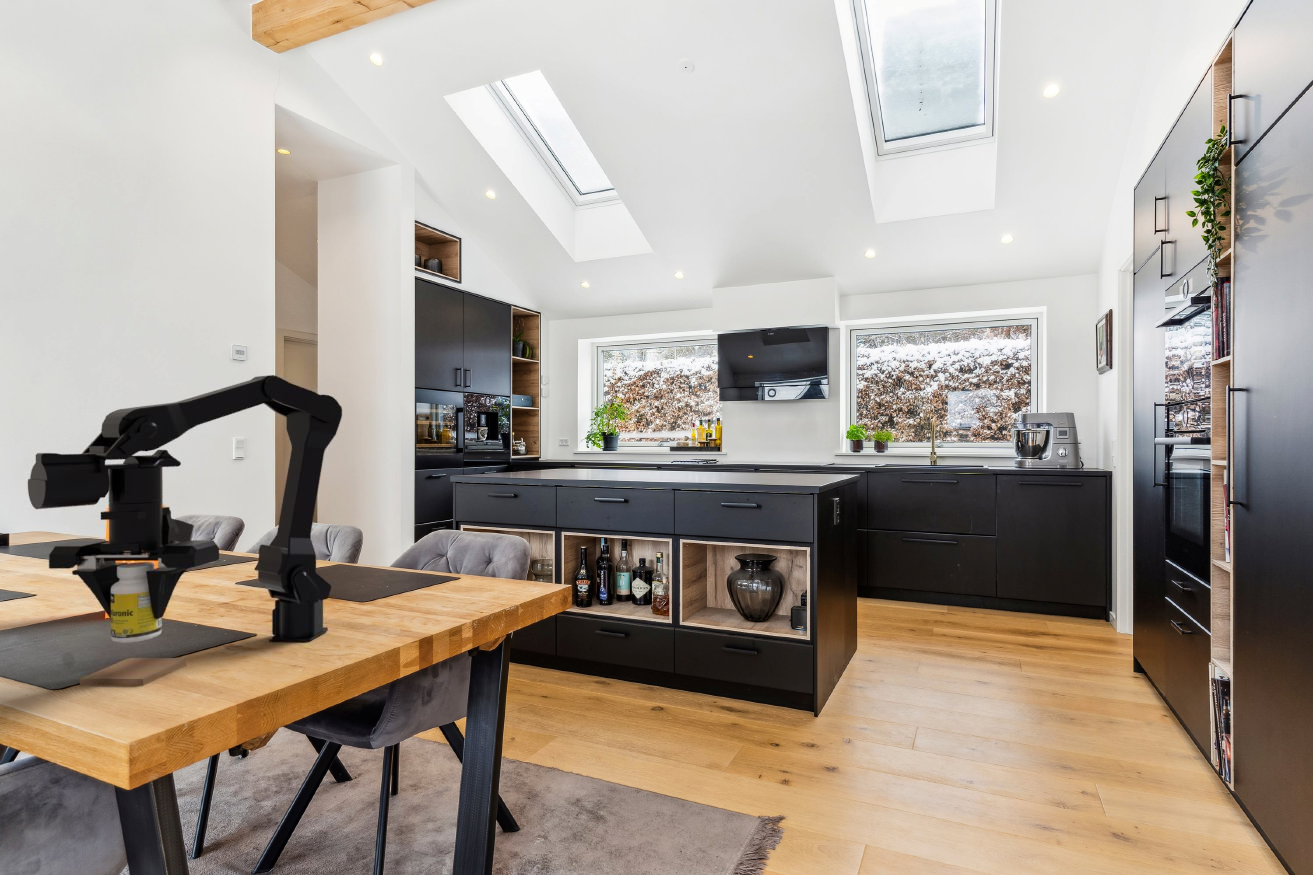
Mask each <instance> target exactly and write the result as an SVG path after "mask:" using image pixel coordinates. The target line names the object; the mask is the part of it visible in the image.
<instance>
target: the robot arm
mask: <svg viewBox="0 0 1313 875" xmlns="http://www.w3.org/2000/svg"><path fill="white" fill-rule="evenodd" d="M263 404H264V405H265V406H266V407H268V408H269V409H270V410H271V411H273V412H275V414H278V415H280V416H282V417H285V418H286V424H285V425H286V432H287V436H288V438H289V441H290V445H291V450H290V457H289V462H288V467H287V468H288V469H287V475H286V480H285V486H284V491H283V492H284V493H283V498H282V502H281V503H282V504H281V508H280V509H281V510H280V515H279V519H278V527H277V532H276V535H275V536H274V538H273V539H272V541H271V542H270V544H269V545H267V544H260V545H259V548H258V560H257V564H256V566H255V567H254V571H256V572H257V578H258V582H259V583H260V584H261V585H262V586H263V587H264V588H265V589H267V592H268V594H269V596H270V598H271V599H276V600H275V601H274V608H273V609H272V611H271V612H272V613H271V627H272V628H271V630H272V631H271V634H272V635H273V636H271V637H270V638H268V640H269V641H268V642H270V643H273V642H274V643H275V642H277V643H281V642H283V643H284V642H285V643H286V642H287V643H288V642H290V643H291V642H293V643H294V642H296V643H297V642H299V643H300V642H301V643H302V642H303V643H304V642H307V643H308V642H312V641H313V640H315V639H316V638H318V637H319V636H321V635H323V634H325V633H326V632H328V630H329V628H328V627H327V626H326V627H325V626H324V601H325V600H327V599H329V597H330V592H331V590H332V585H331V584H330V583H329V582H328V581H327V580H325V579H324V578H323V577H322V576H320V575H319V574H318V573H317V554H316V551H315V547H314V545H313V540H312V536H311V535H312V530H313V524H314V517H315V510H316V504H317V499H318V498H317V497H318V494H319V493H318V492H319V487H320V482H321V481H320V480H321V477H322V476H321V474H322V469H323V462H324V457H325V452H326V449H327V448H328V446H329V445H330V444H331V442H332V441H333V440H334V438H335V437H336V435H337V432H338V430H339V427H340V424H341V421H342V417H343V408H342V407H343V406H342V405H340V403H339V402H338V400H337V399H335V397H334V396H331V395H328V394H319V393H317V392H315V391H313V390H310V389H308V388H305V387H302V386H299V385H296V384H294V383H291V382H290V381H287V380H285V379H284V378H282V377H280V376H278V375H274V374H273V375H272V374H270V375H259V376H257V375H256V376H254V377H253V378H251V379H250V380H245V381H242V382H240V383H236V384H233V385H228V386H226V387H223V388H220V389H216V390H213V391H209V392H205V393H203V394H199V395H196V396H193V397H189V398H185V399H182V400H178V401H175V402H168V403H160V404H151V405H150V404H149V405H142V406H134V407H133V406H132V407H127V408H120V409H115V410H113V411H111V412H109V413H108V414H107V415H105V418H104V420H103V421H102V423H101V429H100V430H101V431H100V433H99V434H98V435H97V436H96V437H95V438H94V439H93V440H92V441H91V442H90V443H89V445H88V446H87V447H86V448H85V449H84V450H83V451H82V453H63V454H62V453H57V452H55V453H54V452H53V453H52V452H37V453H36V454H35V463H34V465H33V466H32V468H31V472H30V476H29V477H30V478H28V479H27V494H28V498H29V502H30V503H31V505H32V507H33V508H34V509H35V510H43V509H44V510H45V509H46V510H47V509H57V508H70V507H71V508H72V507H84V506H85V507H86V506H94V505H97V504H98V503H99V501H100V499H103V498H106V496H107V494H108V508H109V511H107V510H104V511H101V512H100V520H101V521H106V520H109V541H106V540H81V541H75V542H71V543H64V544H60V545H59V544H58V545H55V546H54V547H53V549H52V550H51V552H50V553H49V554H48V569H53V570H55V569H62V570H63V569H73V568H74V567H75V566H76V569H74V570H72V571H71V574H72V575H73V576H78V577H79V578H80V579H81V581H82V582H83V583H84V584H85V585H86V586H87V588H88V589H89V590H90V591H91V592H92V594H93V595H94V596H95V598H96V599H97V601H98V603H99V604H100V606H101V607H102V608H103V610H104V612H106V613H107V615H108V616H109V618H110V620H111V587H112V586H113V585H114V584H115V583H117V582H119V580H120V578H118V577H117V576H118V575H117V567H118V566H119V565H123V564H127V563H128V562H116V561H158V568H155V569H152V570H148V571H146V575H147V581H148V588H149V595H150V601H151V608H152V612H153V615H154V618H155V619H159V618H162V619H163V617H164V615H165V610H166V611H167V607H168V605H169V602H170V601H171V599H172V598H171V597H172V595H173V593H174V591H175V589H176V586H177V584H178V582H179V580H180V579H181V577H182V576H183V575H184V574H185V572H186V571H187V570H189V569H192V568H196V567H200V566H203V565H206V564H209V563H212V562H215V561H220V548H219V545H218V544H217V543H216V542H215V540H213V539H212V540H210V539H209V540H207V539H206V540H205V539H204V540H199V539H198V540H196V539H195V540H192V534H193V532H194V527H195V526H194V524H192V523H189V522H187V521H186V522H185V521H184V520H180V519H174V518H172V511H171V509H170V506H165V507H163V505H164V504H163V500H164V499H163V497H164V496H163V493H164V492H163V489H164V486H163V484H164V483H163V468H170V467H171V468H173V467H180V466H181V465H182V462H181V461H180V460H178V459H177V458H176V457H174V456H172V455H171V454H170V452H169V451H168V450H167V449H159V448H161V447H163V446H165V445H167V444H168V443H170V442H173V441H174V440H177V439H178V438H179V437H182V436H183V435H184V434H186V433H187V432H188V431H190V430H192V429H193V428H195V427H197V426H199V425H203V424H205V423H208V422H211V421H215V420H218V419H221V418H223V417H226V416H227V417H228V416H229V415H233V414H235V413H239V412H243V411H245V410H248V409H251V408H254V407H257V406H260V405H263ZM155 450H156V451H155ZM151 451H155V452H154V453H152V455H151V454H149V455H147V454H146V455H135V454H137V453H139V452H151ZM109 460H110V461H115V460H116V461H117V460H118V461H119V460H124V461H123V463H112V464H111V463H109V464H108V463H107V464H106V461H109Z"/></svg>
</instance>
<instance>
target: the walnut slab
mask: <svg viewBox="0 0 1313 875" xmlns="http://www.w3.org/2000/svg"><path fill="white" fill-rule="evenodd" d="M187 661H188V660H187V658H186V657H127V658H126V659H124V660H121V661H118V662H116V663H115V664H111V665H110V666H107V667H104V668H102V669H100V670H98V671H95V672H93V673H91V674H88V675H86V676H83V677H81V678H79V686H130V687H131V686H134V687H137V686H138V687H139V686H141V687H143V686H145V685H148V684H149V683H153V682H154V681H156V680H159V679H160V678H162V677H165V676H167V675H170V674H172V673H174V672H176V671H179V670H181V669H182V668H185V667H186V666H187V664H188V662H187Z"/></svg>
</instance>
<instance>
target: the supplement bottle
mask: <svg viewBox="0 0 1313 875" xmlns="http://www.w3.org/2000/svg"><path fill="white" fill-rule="evenodd" d="M152 569H155V563H153V562H135V563H128V564H123V565H119V566H118V567H117V575H118V576H117V577H118V578H120V580H119V582H117V583H115V584H114V585H113V586H112V587H111V619H110V637H111V641H113V642H115V643H123V644H125V643H126V644H128V643H137V642H143V641H147V640H151V639H154V638H156V637H159V636H160V635H161V634H162V631H163V617H162V618H159V619H155V618H154V615H153V612H152V608H151V601H150V595H149V588H148V581H147V575H146V571H148V570H152Z"/></svg>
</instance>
